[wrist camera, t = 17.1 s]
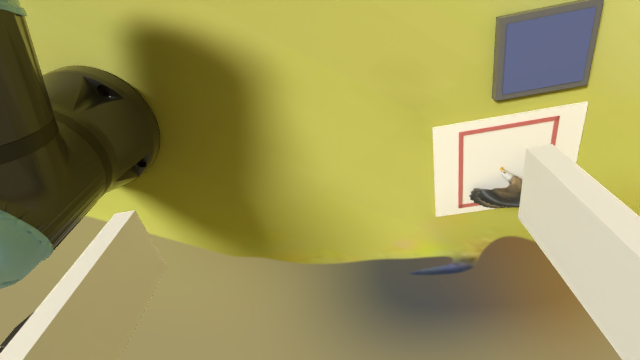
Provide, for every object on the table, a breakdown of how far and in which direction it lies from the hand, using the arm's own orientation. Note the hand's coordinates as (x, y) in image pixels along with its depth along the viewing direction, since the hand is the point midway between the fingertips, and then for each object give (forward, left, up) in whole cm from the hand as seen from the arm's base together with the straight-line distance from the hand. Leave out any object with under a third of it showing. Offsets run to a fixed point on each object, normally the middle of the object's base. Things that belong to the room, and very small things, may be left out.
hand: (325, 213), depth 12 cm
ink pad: (+23, -6, -32) cm, 40 cm away
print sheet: (+20, -20, -32) cm, 42 cm away
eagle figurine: (+20, -22, -31) cm, 43 cm away
